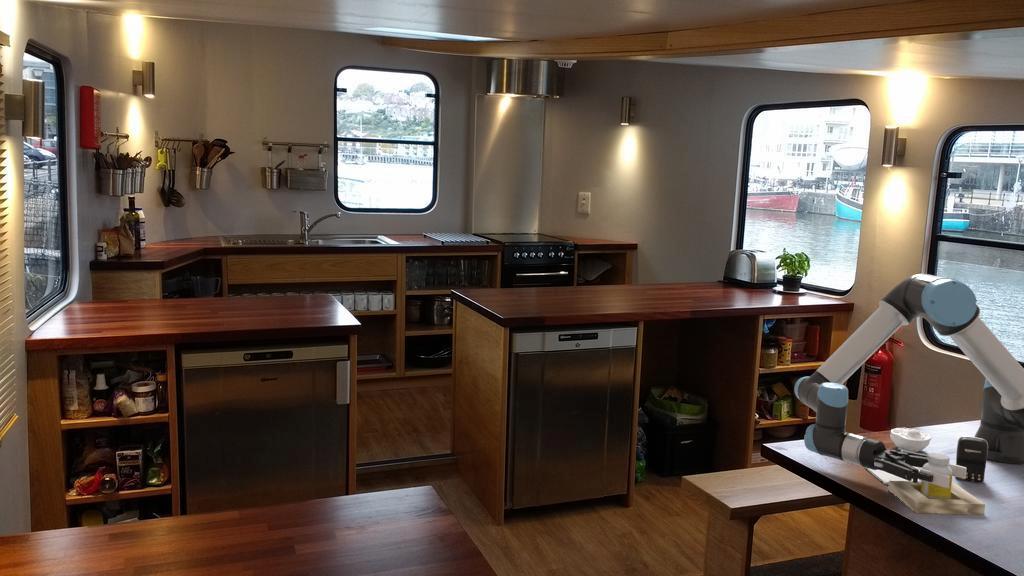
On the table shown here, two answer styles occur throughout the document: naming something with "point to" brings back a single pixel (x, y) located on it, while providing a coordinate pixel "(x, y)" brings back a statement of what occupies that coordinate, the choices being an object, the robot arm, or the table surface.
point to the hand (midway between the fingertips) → (957, 477)
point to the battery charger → (972, 457)
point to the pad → (886, 476)
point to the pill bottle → (940, 466)
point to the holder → (920, 504)
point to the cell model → (910, 439)
